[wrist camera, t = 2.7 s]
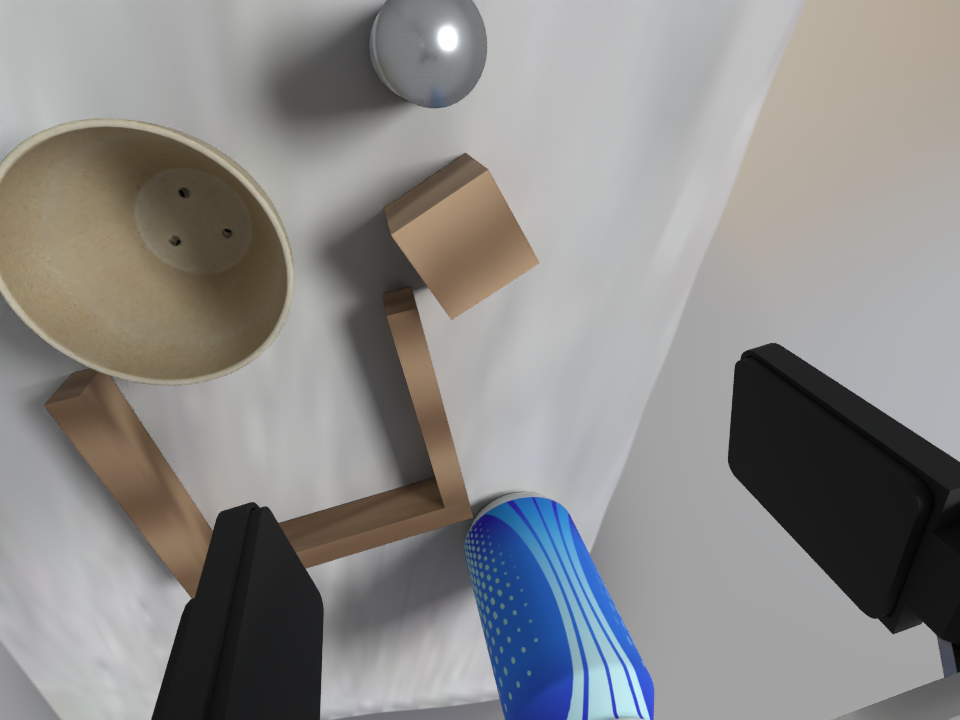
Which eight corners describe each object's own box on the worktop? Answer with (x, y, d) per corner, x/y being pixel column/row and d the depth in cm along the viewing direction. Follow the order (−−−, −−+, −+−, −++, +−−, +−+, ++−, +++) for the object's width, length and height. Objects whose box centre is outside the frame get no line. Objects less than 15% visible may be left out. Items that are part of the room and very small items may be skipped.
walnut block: (383, 208, 27) (390, 235, 23) (465, 152, 26) (488, 169, 22) (436, 283, 29) (451, 319, 25) (511, 233, 29) (539, 262, 25)
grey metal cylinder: (357, 6, 23) (360, -11, 17) (447, -12, 23) (476, -34, 18) (382, 107, 25) (392, 118, 19) (464, 89, 25) (495, 96, 20)
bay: (71, 373, 27) (43, 405, 25) (410, 286, 29) (417, 308, 27) (205, 563, 35) (194, 602, 33) (464, 486, 37) (473, 517, 35)
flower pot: (238, 70, 23) (199, 72, 17) (339, 274, 28) (337, 333, 22) (17, 152, 22) (-106, 184, 16) (161, 342, 28) (109, 421, 22)
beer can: (473, 482, 37) (546, 723, 24) (579, 484, 40) (701, 703, 26) (451, 565, 41) (504, 815, 27) (549, 562, 43) (642, 789, 30)
